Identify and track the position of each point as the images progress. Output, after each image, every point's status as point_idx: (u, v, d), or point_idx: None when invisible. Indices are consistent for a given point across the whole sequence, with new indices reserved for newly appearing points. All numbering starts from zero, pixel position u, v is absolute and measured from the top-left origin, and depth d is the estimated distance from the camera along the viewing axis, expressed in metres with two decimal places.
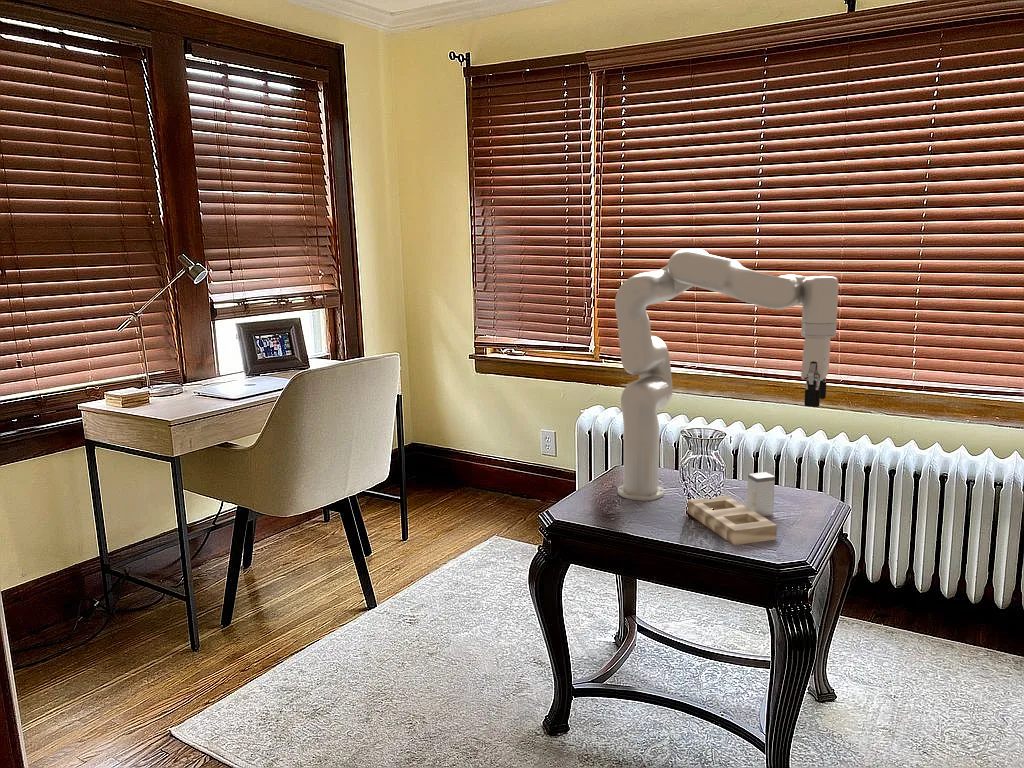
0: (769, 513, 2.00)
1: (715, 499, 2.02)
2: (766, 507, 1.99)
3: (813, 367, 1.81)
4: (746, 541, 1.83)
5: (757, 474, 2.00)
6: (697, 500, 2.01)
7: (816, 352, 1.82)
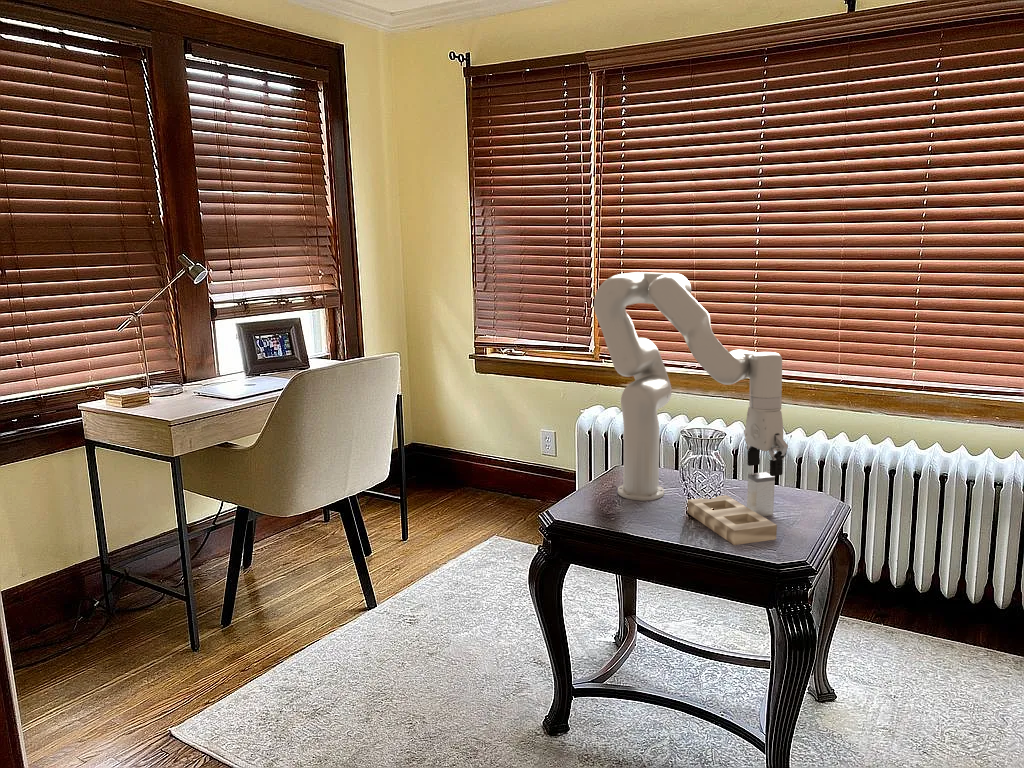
0: (769, 513, 2.00)
1: (715, 499, 2.02)
2: (766, 507, 1.99)
3: (781, 439, 1.91)
4: (746, 541, 1.83)
5: (757, 474, 2.00)
6: (697, 500, 2.01)
7: (778, 424, 1.92)
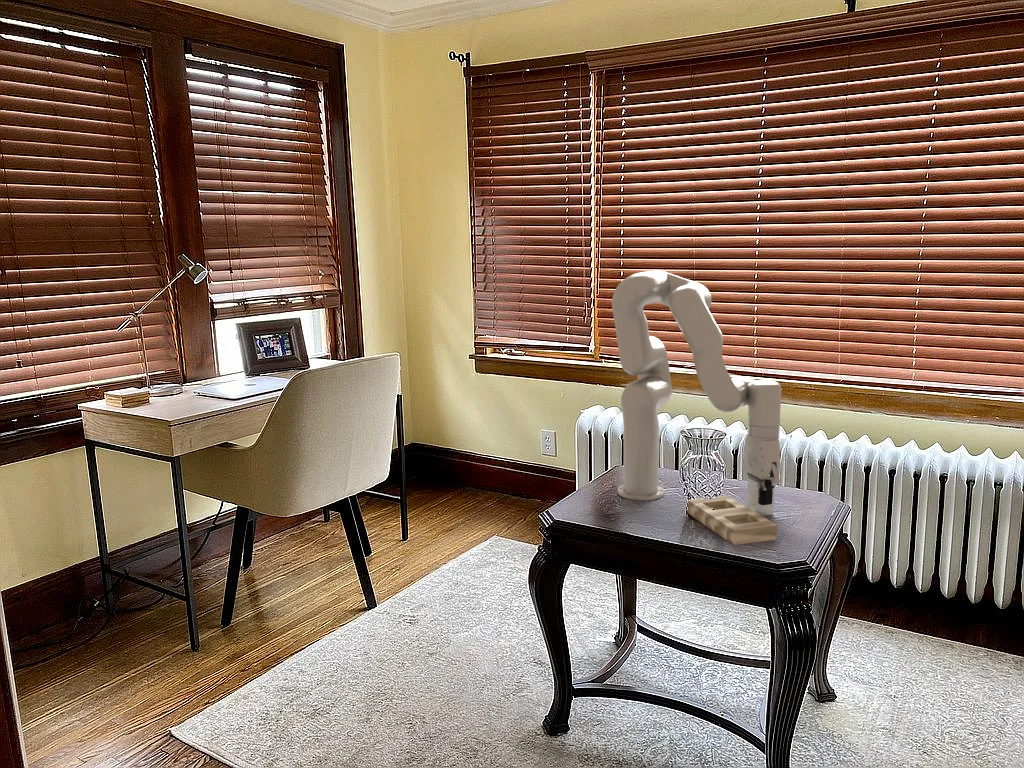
0: (769, 513, 2.00)
1: (715, 499, 2.02)
2: (766, 507, 1.99)
3: (776, 472, 1.94)
4: (746, 541, 1.83)
5: None
6: (697, 500, 2.01)
7: (775, 453, 1.94)
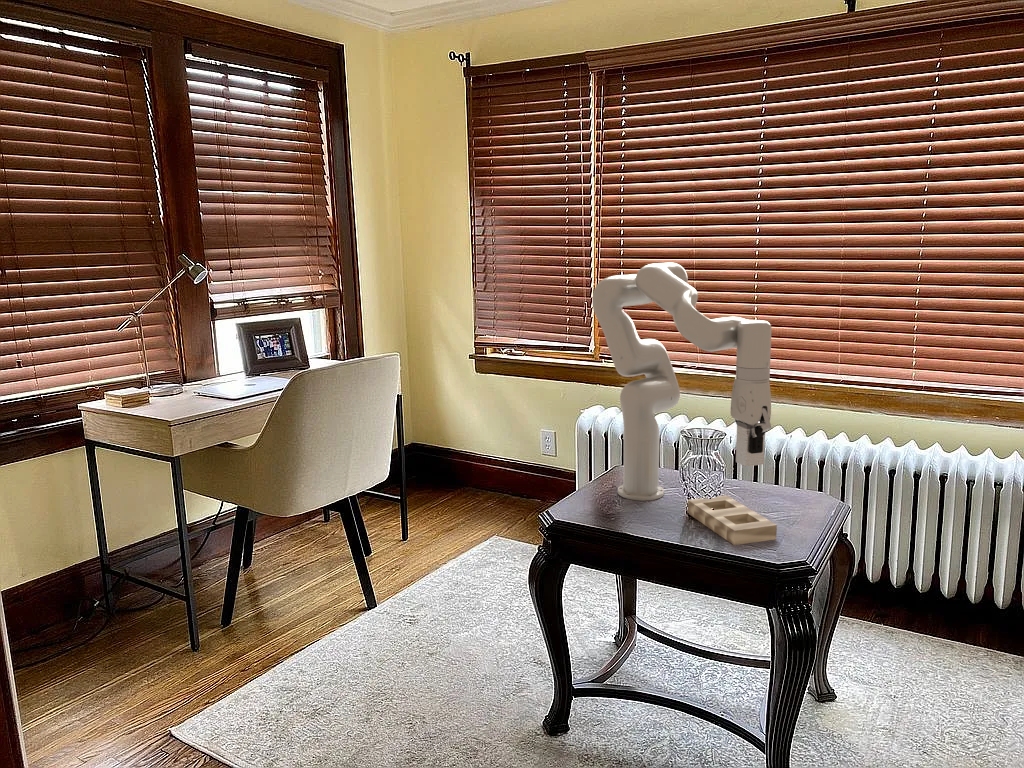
0: (760, 462, 1.88)
1: (715, 499, 2.02)
2: (757, 455, 1.87)
3: (767, 417, 1.82)
4: (746, 541, 1.83)
5: None
6: (697, 500, 2.01)
7: (766, 396, 1.82)
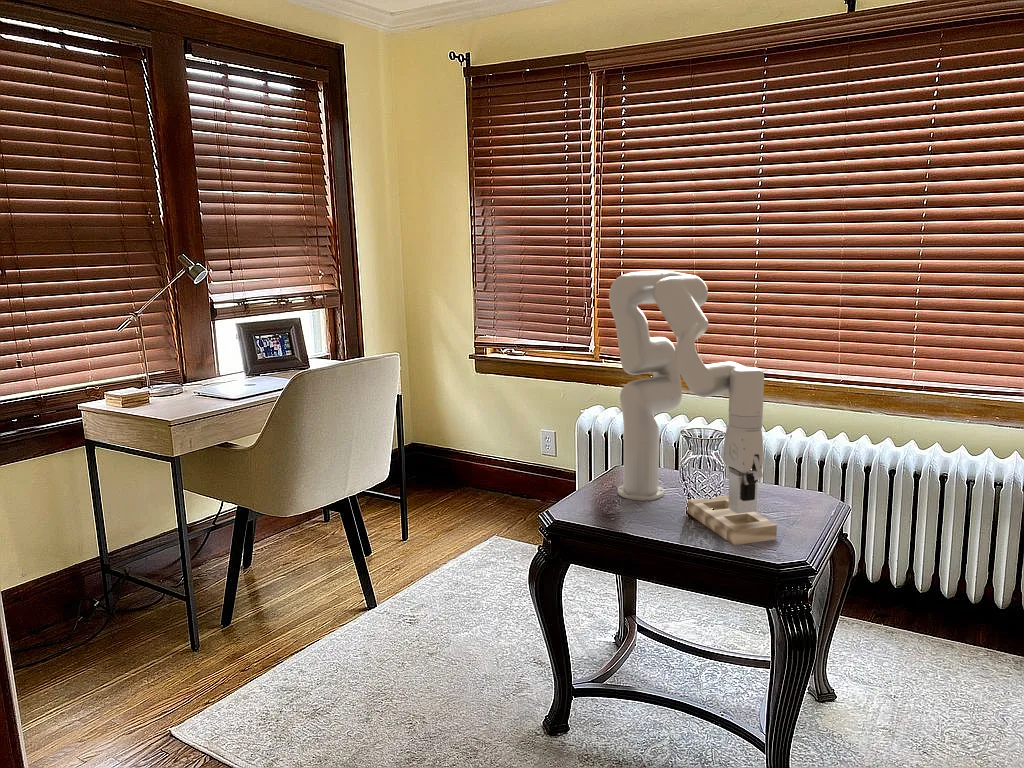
0: (752, 509, 1.86)
1: (715, 499, 2.02)
2: (749, 502, 1.86)
3: (758, 465, 1.80)
4: (746, 541, 1.83)
5: None
6: (697, 500, 2.01)
7: (758, 445, 1.80)
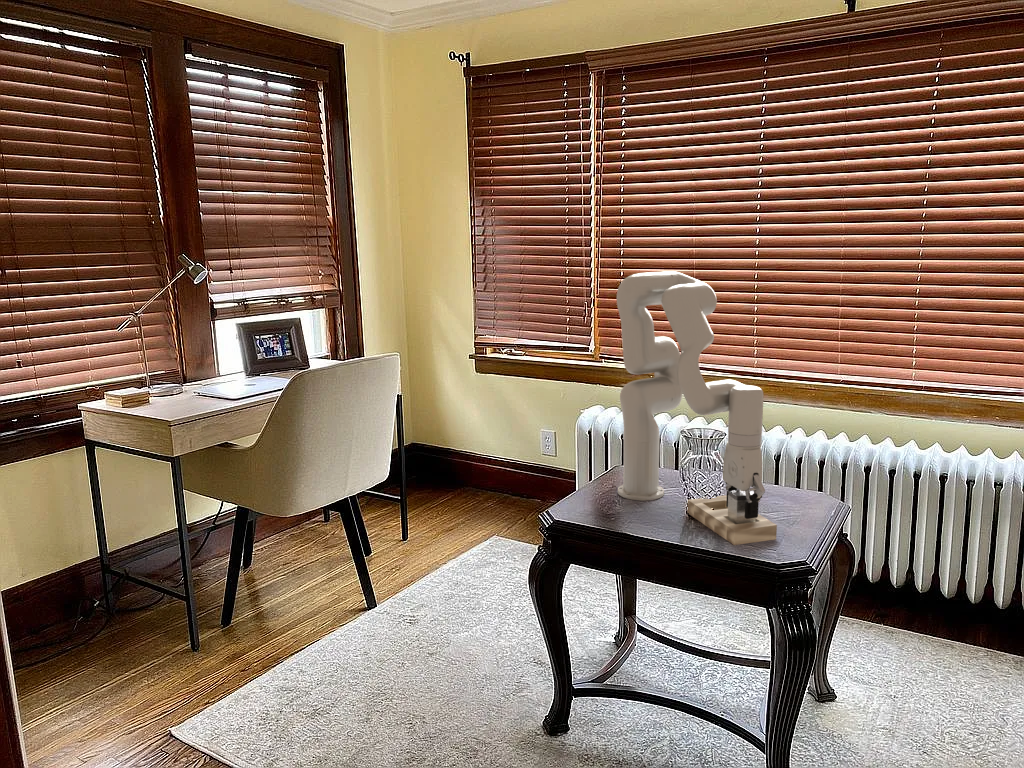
0: None
1: (715, 499, 2.02)
2: None
3: (759, 481, 1.80)
4: (746, 541, 1.83)
5: (738, 491, 1.88)
6: (697, 500, 2.01)
7: (757, 463, 1.81)
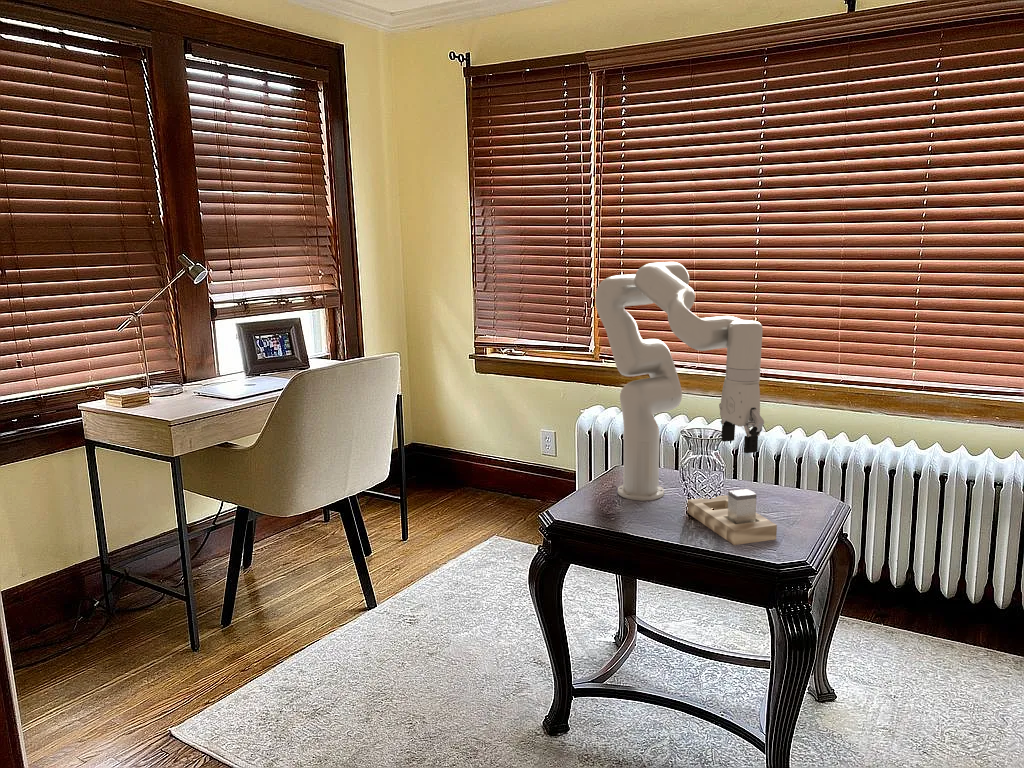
0: None
1: (715, 499, 2.02)
2: None
3: (757, 414, 1.79)
4: (746, 541, 1.83)
5: (738, 491, 1.88)
6: (697, 500, 2.01)
7: (755, 398, 1.80)
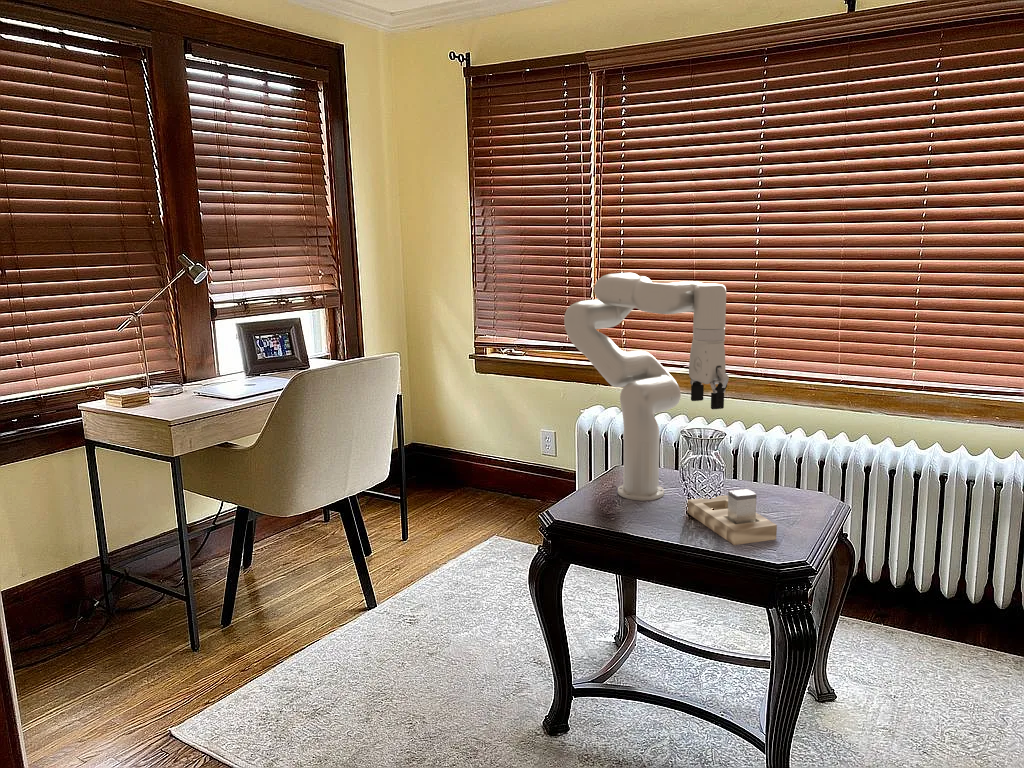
0: None
1: (715, 499, 2.02)
2: None
3: (722, 371, 1.88)
4: (746, 541, 1.83)
5: (738, 491, 1.88)
6: (697, 500, 2.01)
7: (720, 356, 1.89)
